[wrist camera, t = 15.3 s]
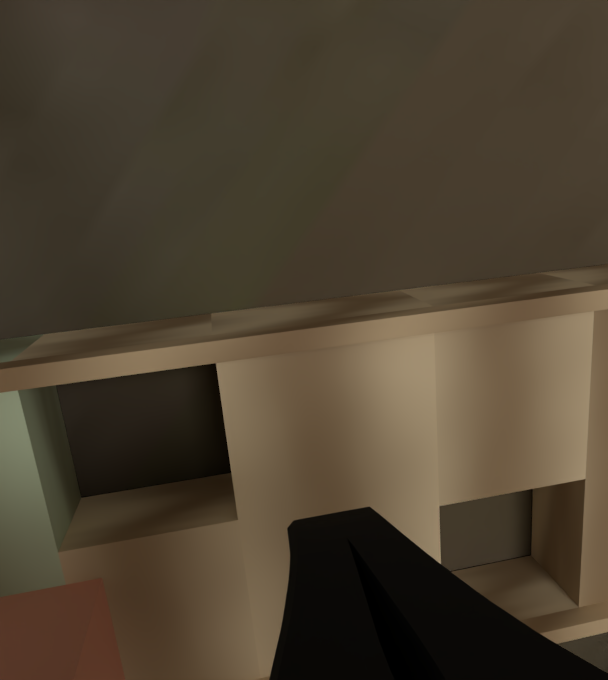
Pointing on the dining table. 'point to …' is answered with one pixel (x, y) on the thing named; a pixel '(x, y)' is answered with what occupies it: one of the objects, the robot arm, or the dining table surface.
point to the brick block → (59, 634)
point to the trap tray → (323, 458)
